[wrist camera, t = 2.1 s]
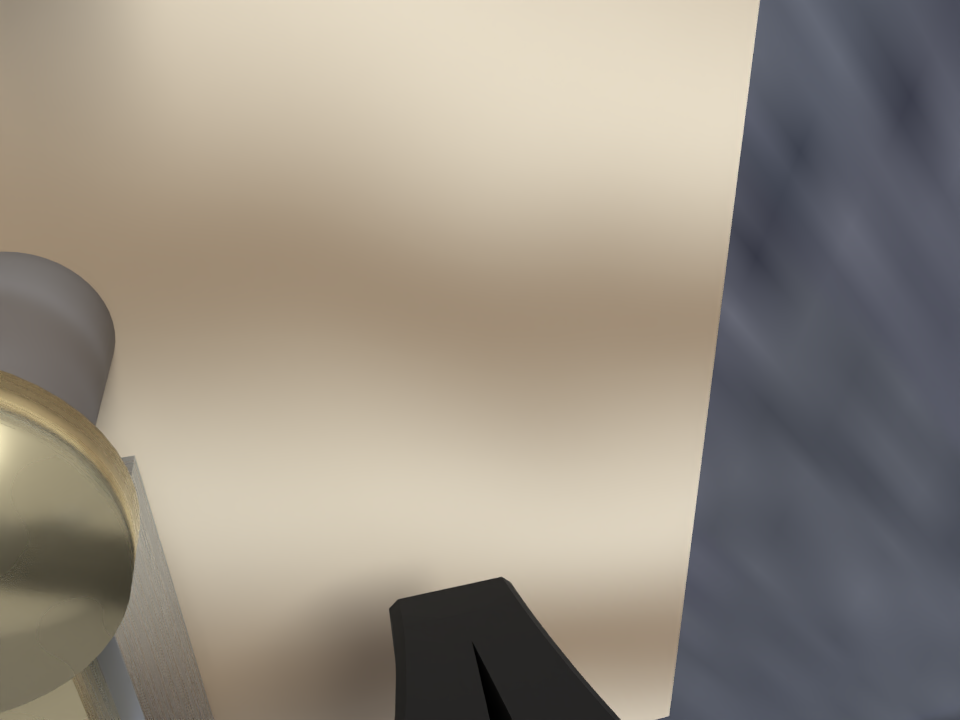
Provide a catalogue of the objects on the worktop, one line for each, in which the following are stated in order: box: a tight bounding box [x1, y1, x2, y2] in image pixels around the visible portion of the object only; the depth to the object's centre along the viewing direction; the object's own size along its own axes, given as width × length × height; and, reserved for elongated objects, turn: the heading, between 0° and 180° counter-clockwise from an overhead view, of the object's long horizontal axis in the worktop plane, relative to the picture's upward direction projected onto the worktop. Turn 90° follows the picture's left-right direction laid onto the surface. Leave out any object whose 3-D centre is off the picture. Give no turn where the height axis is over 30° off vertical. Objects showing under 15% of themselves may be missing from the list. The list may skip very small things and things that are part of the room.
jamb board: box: [0, 0, 760, 720], centre depth 8 cm, size 18×13×4 cm
